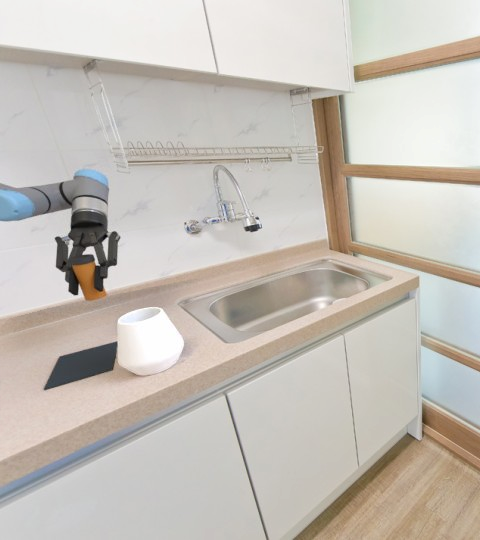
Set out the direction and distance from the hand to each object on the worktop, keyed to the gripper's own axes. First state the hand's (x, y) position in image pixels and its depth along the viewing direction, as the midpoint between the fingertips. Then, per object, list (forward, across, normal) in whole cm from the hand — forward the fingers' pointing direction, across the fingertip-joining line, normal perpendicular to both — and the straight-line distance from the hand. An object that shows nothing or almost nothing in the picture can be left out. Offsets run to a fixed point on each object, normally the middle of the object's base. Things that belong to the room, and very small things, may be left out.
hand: (86, 291), depth 85 cm
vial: (0, 0, -5) cm, 5 cm away
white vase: (+23, -14, -2) cm, 27 cm away
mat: (+17, +3, -8) cm, 19 cm away
